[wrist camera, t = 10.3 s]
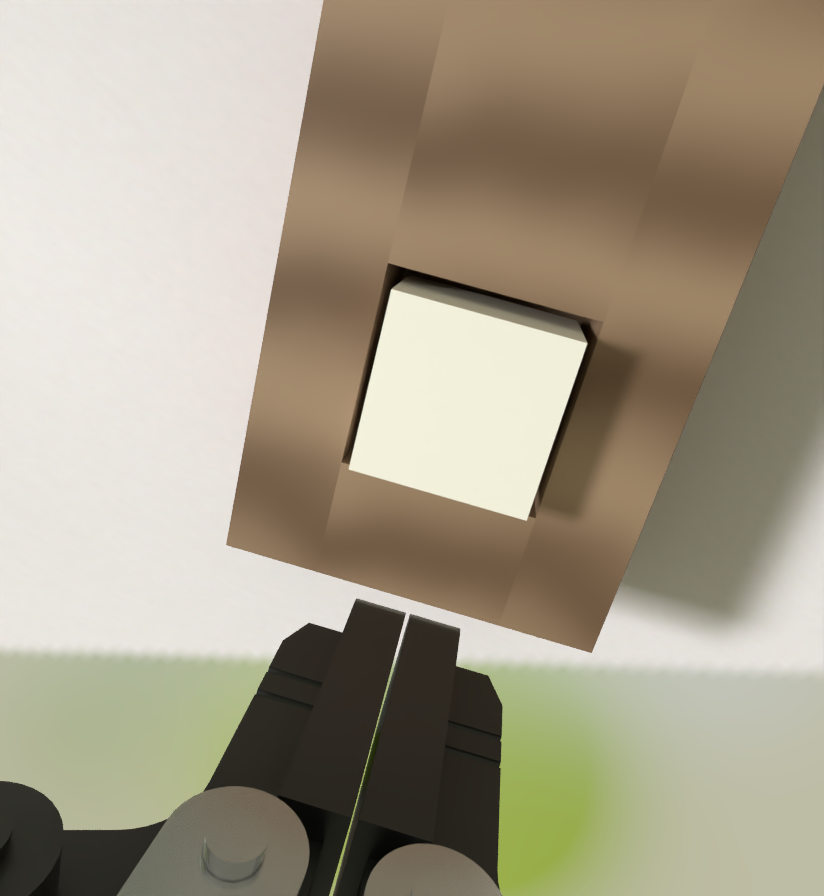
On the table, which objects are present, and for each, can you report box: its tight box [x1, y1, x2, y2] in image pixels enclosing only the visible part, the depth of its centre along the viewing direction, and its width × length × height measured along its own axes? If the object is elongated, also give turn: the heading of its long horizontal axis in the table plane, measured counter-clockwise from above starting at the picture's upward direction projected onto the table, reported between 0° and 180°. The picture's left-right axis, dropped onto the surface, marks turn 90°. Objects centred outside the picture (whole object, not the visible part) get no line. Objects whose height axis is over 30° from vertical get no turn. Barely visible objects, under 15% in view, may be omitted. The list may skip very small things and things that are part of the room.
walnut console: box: [226, 0, 824, 653], centre depth 24 cm, size 32×14×6 cm, turn 165°
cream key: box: [349, 275, 587, 521], centre depth 25 cm, size 6×6×4 cm
